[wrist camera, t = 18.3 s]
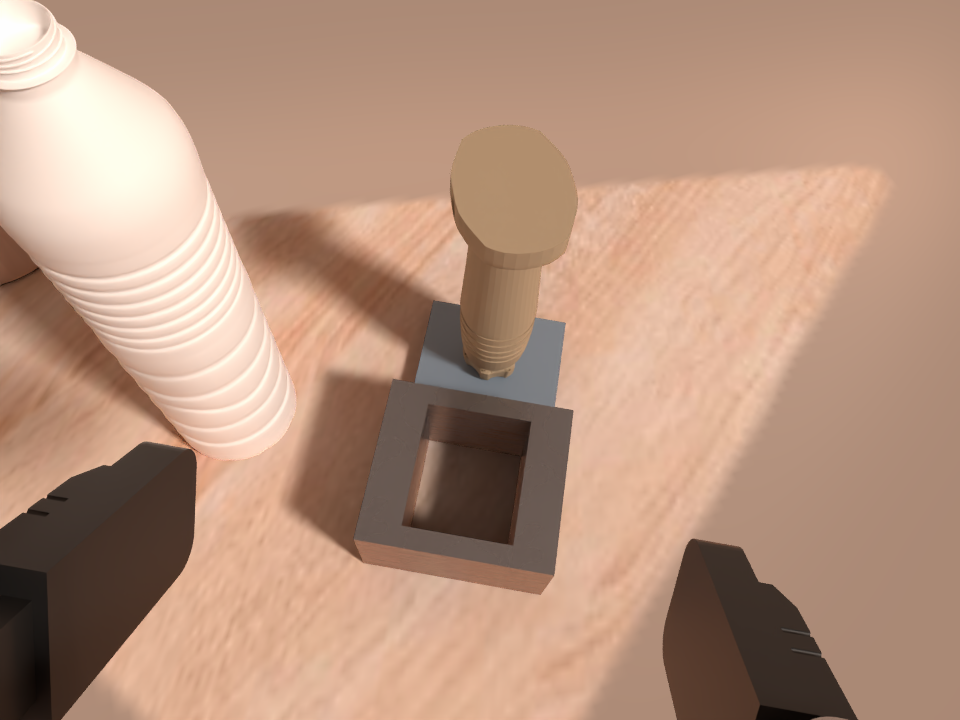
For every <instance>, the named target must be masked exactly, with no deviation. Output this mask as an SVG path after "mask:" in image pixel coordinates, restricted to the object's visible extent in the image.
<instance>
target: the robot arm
mask: <svg viewBox="0 0 960 720" xmlns="http://www.w3.org/2000/svg"><path fill="white" fill-rule="evenodd" d="M36 268H38V266H37V265H36V264H35V263H34V262H33V261H32V260H31V258H30V256H29V254H28V253H27V252H25V251H24V250H23V249H22V248H21V247H20V246H19V245H18V244H17V243H16V242H15V241H14V239H13V238H12V237H10V236H9V235H8V234H7V233H6V231H5V230H4V229H3V228H2V227H1V226H0V285H1V284H4V283H7V282H10V281H13V280H16V279H18V278H20V277H22V276H24V275H26V274H28V273H30V272H32V271H34V270H35V269H36ZM196 469H197V462H196V456H195V453H194V452H193V451H192V450H191V449H186V448H180V447H175V446H169V445H163V444H158V443H152V442H142V443H141V444H139V445H138V446H136V447H135V448H134V449H133V450H131V451H130V452H129V453H127V454H126V455H125V456H123V457H122V458H121V459H120V460H118V461H117V462H116V463H114V464H113V465H112V466H106V465H103V466H100V467H98V468H95V469H92V470H90V471H87V472H84V473H82V474H79V475H76V476H74V477H71V478H70V479H68V480H67V481H66V482H64V483H63V484H61V485H60V486H59V487H57V488H56V489H55V490H53V491H52V492H50V493H49V494H48V495H47V498H46V499H45V498H42V499H41V500H40V501H38V502H37V503H35V504H34V505H33V506H31V507H30V508H29V509H28V511H27V513H22V514H20V515H19V516H18V517H16V518H15V519H13V520H12V521H11V522H9V523H8V524H7V525H5V526H4V527H3V528H1V529H0V720H61V719H62V718H63V716H64V715H65V714H66V713H67V712H68V710H69V709H70V708H71V707H72V705H73V704H74V703H75V702H76V701H77V699H78V698H79V697H80V696H81V695H82V693H83V692H84V691H85V690H86V688H87V687H88V686H89V685H90V684H91V682H92V681H93V680H94V679H95V678H96V676H97V675H98V674H99V673H100V671H101V670H102V669H103V668H104V667H105V665H106V664H107V663H108V662H109V660H110V659H111V658H112V657H113V656H114V654H115V653H116V652H117V651H118V649H119V648H120V647H121V646H122V645H123V643H124V642H125V641H126V640H127V638H128V637H129V636H130V635H131V634H132V632H133V631H134V630H135V629H136V628H137V626H138V625H139V624H140V623H141V621H142V620H143V619H144V618H145V617H146V615H147V614H148V613H149V612H150V610H151V609H152V608H153V607H154V606H155V604H156V603H157V602H158V601H159V599H160V598H161V597H162V596H163V595H164V593H165V592H166V591H167V590H168V589H169V587H170V586H171V585H172V584H173V582H174V581H175V580H176V579H177V578H178V576H179V575H180V574H181V572H182V571H183V569H184V567H185V565H186V563H187V561H188V558H189V555H190V552H191V549H192V545H193V539H194V524H195V496H196ZM663 659H664V666H665V670H666V674H667V679H668V683H669V687H670V691H671V695H672V700H673V704H674V708H675V713H676V717H677V720H858V719H857V717H856V715H855V714H854V712H853V710H852V708H851V706H850V704H849V703H848V701H847V699H846V697H845V695H844V693H843V691H842V690H841V688H840V686H839V684H838V682H837V680H836V679H835V677H834V675H833V673H832V671H831V669H830V668H829V666H828V664H827V662H826V660H825V659H824V658H821V651H820V649H819V647H818V646H817V644H816V642H815V640H814V638H813V637H810V631H809V629H808V627H807V625H806V624H805V621H804V620H803V618H802V616H801V614H800V612H799V611H798V609H797V608H796V606H794V605H793V604H792V603H791V602H790V601H789V600H788V599H787V598H786V597H785V596H784V595H783V594H782V593H781V592H780V591H779V590H777V589H776V588H775V587H774V586H773V585H771V584H766V583H760V582H758V580H757V578H756V576H755V574H754V572H753V569H752V568H751V565H750V563H749V561H748V559H747V558H746V555H745V553H744V551H743V550H742V549H741V548H740V547H737V546H732V545H726V544H720V543H715V542H709V541H704V540H698V539H691V540H690V541H689V543H688V544H687V546H686V549H685V552H684V555H683V559H682V563H681V566H680V570H679V574H678V577H677V581H676V585H675V588H674V592H673V596H672V599H671V603H670V607H669V610H668V614H667V618H666V622H665V627H664V634H663Z"/></svg>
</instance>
